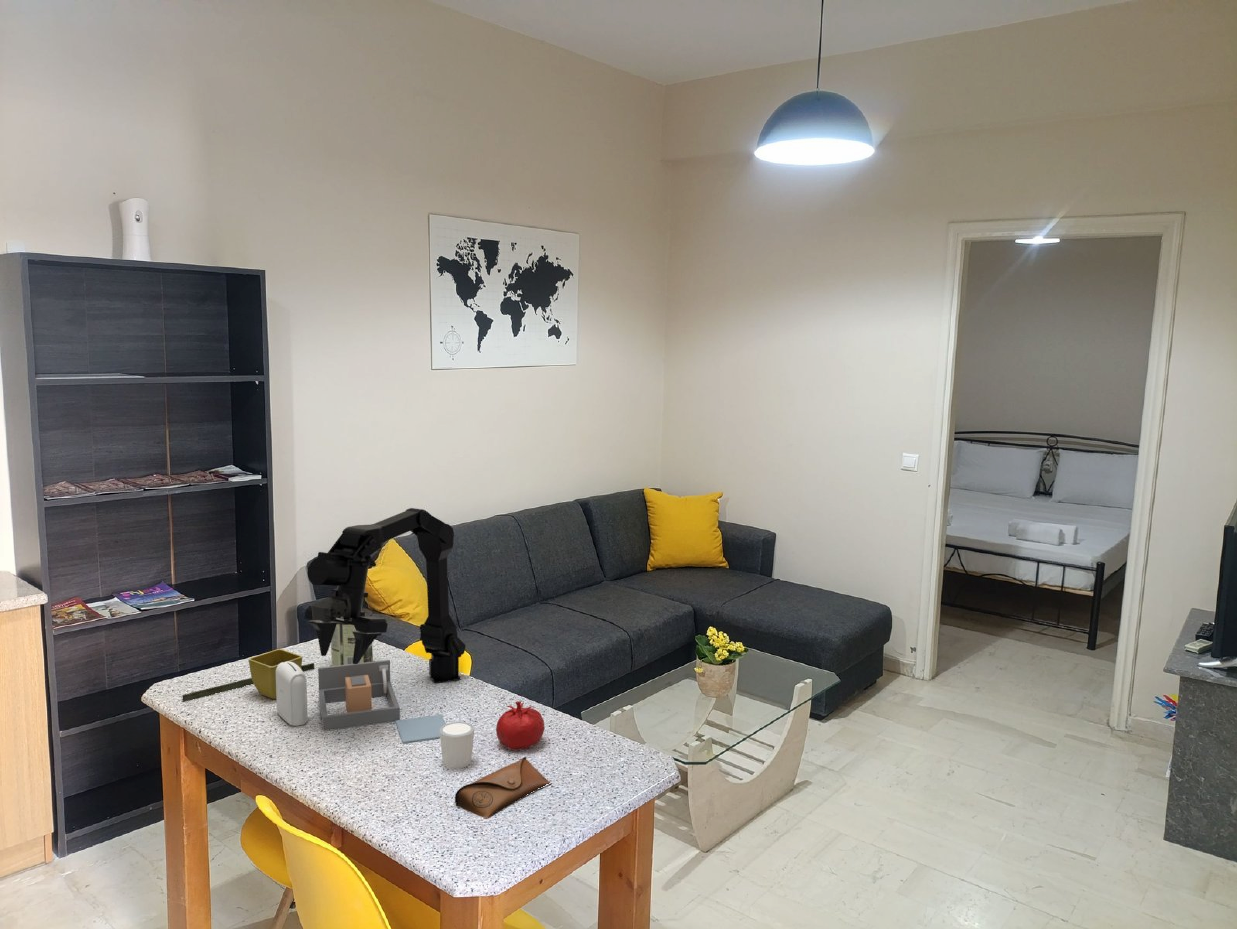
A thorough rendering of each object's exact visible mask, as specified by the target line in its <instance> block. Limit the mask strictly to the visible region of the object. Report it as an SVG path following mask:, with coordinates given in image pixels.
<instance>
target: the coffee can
mask: <svg viewBox="0 0 1237 929" xmlns="http://www.w3.org/2000/svg"><path fill="white" fill-rule="evenodd" d="M361 611H363V612H365V617H368V616H373V611H371V610H370V609H368V608H367V609H366V608H362V610H361ZM340 618H343V616H342V617H340ZM350 621H352V620H350ZM332 622H336V623H337V625H336V628H335V631H334V634H333V637H332V641H331V644H330V649H331V655H330V656H331V666H337V665H346V664H353V655H354V647H355V641H356V639H355V637H354V635H353V632H356V629H355V627H354V625H350V624H346V623H341V622H337V621H332ZM373 656H374V655H373V643H372V644H371V645H370V646H369V648H368V649H367V651H366V652H365V654H364V655H363V657H362V658H361V660H360V661H359V663H365V662H374V661H373V660H374V658H373Z"/></svg>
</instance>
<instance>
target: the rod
mask: <svg viewBox="0 0 1237 929" xmlns="http://www.w3.org/2000/svg"><path fill="white" fill-rule="evenodd" d="M301 670H302V671H303V672H307V671H311V670H315V663H314V662H312V663H307V664H302V666H301ZM251 684H253V685H254V683H253V681H252V677H249V678H246V679H241V680H238V681H233V682H229V683H226V684H221V685H218V686H214V687H209V688H206V689H201V690H198V691H192V692H190V693H185V694H182V695H181V696H182V702H183V703H185V702H189V701H193V699H194V700H197V699H200V698H201V699H202V698H205V696H206V697H209V695H210V696H213V695H216V694H215V693H218V694H221V693H220V692H222V693H225V692H229V691H228V690H230V691H233V690H237V689H241V688H244V686H245V687H247V686H246V685H249V686H252V685H251ZM240 687H241V688H240ZM236 688H237V689H236ZM232 689H233V690H232Z"/></svg>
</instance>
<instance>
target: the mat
mask: <svg viewBox="0 0 1237 929" xmlns="http://www.w3.org/2000/svg"><path fill="white" fill-rule="evenodd" d="M445 724H447V723H446V722H445V719H444V717H443V715H442V713H441V714H434V715H426V716H419V717H412V718H411V717H410V718H405V719H400V720H396V721H395V725H396V728H397V731H398V734H399V737H400V739H401V743H402V744H410V743H416V742H424V741H430V740H436V739H437V740H438V739H440V731H439V729H440V728H441V727H442V726H443V725H445Z"/></svg>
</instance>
